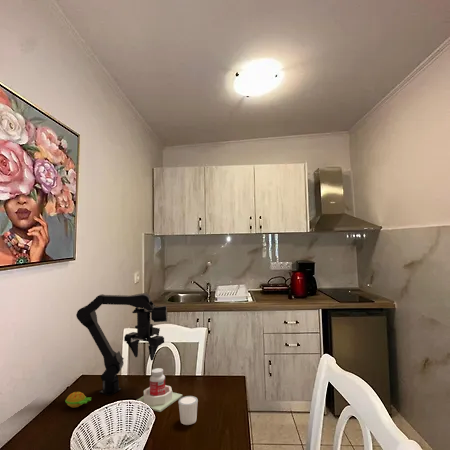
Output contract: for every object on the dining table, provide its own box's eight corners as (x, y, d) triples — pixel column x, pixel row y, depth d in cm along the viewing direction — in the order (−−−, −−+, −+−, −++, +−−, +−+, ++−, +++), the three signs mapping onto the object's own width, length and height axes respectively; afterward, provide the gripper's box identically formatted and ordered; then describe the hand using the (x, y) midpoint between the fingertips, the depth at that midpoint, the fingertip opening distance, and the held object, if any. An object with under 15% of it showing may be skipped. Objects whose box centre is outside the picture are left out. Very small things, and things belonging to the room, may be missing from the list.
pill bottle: (158, 403, 124) (158, 374, 125) (146, 400, 127) (146, 371, 128) (168, 396, 130) (168, 368, 130) (156, 393, 132) (156, 366, 133)
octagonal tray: (132, 404, 125) (132, 394, 126) (156, 389, 138) (156, 381, 138) (160, 412, 119) (159, 402, 119) (182, 396, 131) (182, 387, 131)
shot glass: (194, 426, 108) (194, 405, 109) (175, 425, 110) (175, 404, 110) (200, 416, 115) (200, 396, 116) (182, 414, 117) (182, 394, 117)
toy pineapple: (73, 401, 129) (74, 387, 129) (94, 404, 126) (94, 390, 127) (61, 409, 122) (61, 395, 123) (82, 412, 120) (82, 398, 120)
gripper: (172, 320, 143) (172, 355, 142) (141, 317, 152) (141, 350, 151) (155, 326, 133) (155, 364, 132) (123, 322, 142) (123, 357, 141)
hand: (144, 358), depth 139 cm, fingers open, 9 cm apart
